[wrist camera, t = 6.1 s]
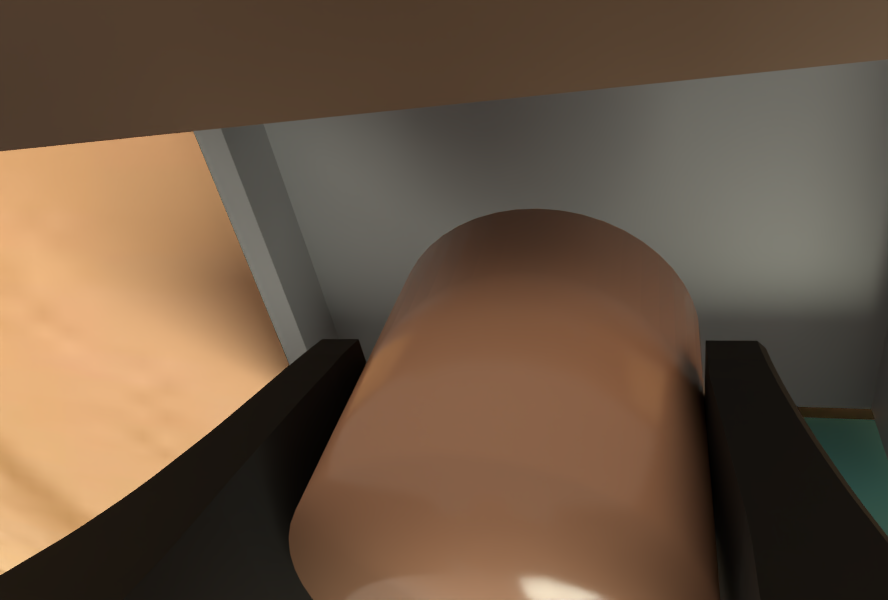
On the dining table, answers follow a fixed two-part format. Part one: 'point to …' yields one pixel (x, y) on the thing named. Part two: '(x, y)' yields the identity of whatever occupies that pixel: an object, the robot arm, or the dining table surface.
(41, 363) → the dining table surface
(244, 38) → the spice box
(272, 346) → the dining table surface
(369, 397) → the brown round cylinder
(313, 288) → the drawer
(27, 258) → the dining table surface
